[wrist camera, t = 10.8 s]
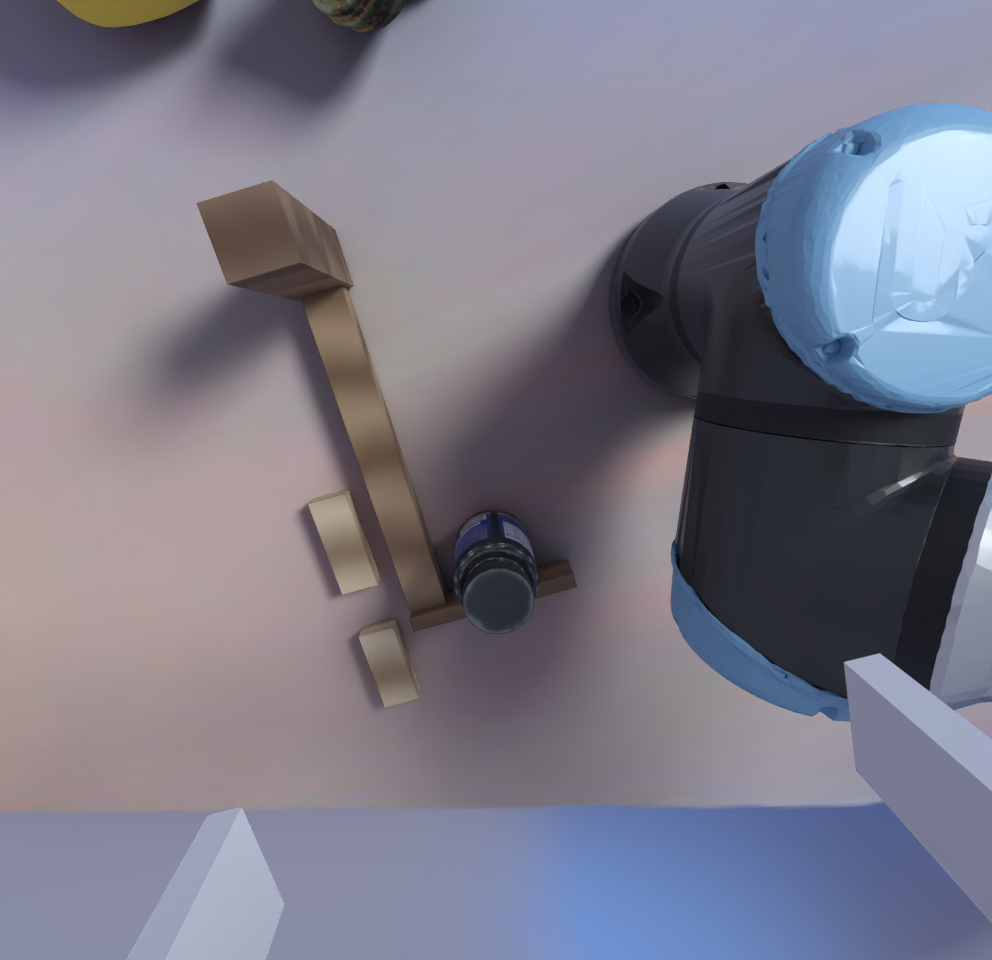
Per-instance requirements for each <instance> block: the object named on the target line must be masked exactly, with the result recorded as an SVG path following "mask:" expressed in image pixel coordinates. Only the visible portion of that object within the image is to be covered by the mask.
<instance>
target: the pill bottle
mask: <svg viewBox="0 0 992 960" xmlns="http://www.w3.org/2000/svg"><path fill="white" fill-rule="evenodd" d="M539 581H540V580H539V572H538V568H537V565H536V561H535V558H534V555H533V551H532V548H531V544H530V541H529V537H528V534H527V532H526V529H525V528H524V526H523V525H522V524H521V523H520V522H519V520H518V519H517V518H515V517H514V516H513V515H510V514H508V513H506V512H502V511H484V512H481V513H478V514H476V515H474V516H472V517H471V518H470V519H468V520H467V521H466V522H465V523H464V524H463V525H462V527H461V529H460V531H459V532H458V535H457V539H456V548H455V561H454V573H453V587H454V592H455V595H456V598H457V599H458V602H459V603H460V604H461V605H462V607H463V609H464V612H465V614H466V616H467V618H468V619H469V621H470V622H471V623H472V624H473V625H474V626H475V627H477V628H478V629H480V630H482V631H484V632H488V633H493V634H502V633H507V632H511V631H513V630H515V629H517V628H519V627H520V626H522V625H523V624H524V623H525V621H526V620H527V619H528V618H529V616H530V614H531V612H532V609H533V606H534V599H535V597H536V595H537V592H538V588H539Z"/></svg>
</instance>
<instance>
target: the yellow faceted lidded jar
mask: <svg viewBox="0 0 992 960" xmlns="http://www.w3.org/2000/svg"><path fill="white" fill-rule="evenodd" d="M57 1H58V2H59V3H60V4H61V5H63V6H64V7H65V8H66V9H67V10H69V11H70V12H71V13H72V14H74V15H75V16H77V17H79V18H81V19H83V20H84V21H87V22H89V23H92V24H95V25H98V26H101V27H113V28H115V27H124V26H132V25H137V24H141V23H145V22H149V21H153V20H156V19H159V18H162V17H165V16H168V15H171V14H173V13H175V12H177V11H180V10H182V9H184V8H186V7H187V6H189V5H191V4H193V3H195V2H197V1H198V0H57Z"/></svg>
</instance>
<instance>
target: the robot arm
mask: <svg viewBox="0 0 992 960" xmlns="http://www.w3.org/2000/svg"><path fill="white" fill-rule="evenodd" d="M609 307H610V318H611V324H612V328H613V332H614V335H615V338H616V341H617V343H618V345H619V348H620V350H621V351H622V353H623V355H624V357H625V358H626V360H627V361H628V362H629V364H630V365H631V366H632V367H633V369H634V370H635V371H636V372H637V373H638V374H639V375H640V376H641V377H643V378H644V379H645V380H646V381H648V382H649V383H651V384H652V385H654V386H656V387H657V388H659V389H661V390H663V391H666V392H668V393H671V394H675V395H678V396H682V397H686V398H691V399H697V400H696V408H695V414H694V419H693V426H692V432H691V439H690V446H689V453H688V459H687V466H686V473H685V479H684V486H683V493H682V499H681V506H680V513H679V519H678V526H677V533H676V538H675V540H674V542H673V543H672V547H671V562H672V565H673V576H672V587H671V610H672V615H673V618H674V620H675V622H676V623H677V625H678V626H679V629H680V632H681V633H682V636H683V638H684V639H685V641H686V642H687V644H688V645H689V646H690V647H691V648H692V650H693V651H694V652H695V653H696V654H697V655H698V656H699V657H700V658H701V659H702V660H703V661H704V662H705V663H706V664H708V665H709V666H710V667H711V668H712V669H714V670H715V671H716V672H717V673H719V674H720V675H722V676H723V677H724V678H726V679H727V680H729V681H730V682H732V683H733V684H735V685H737V686H738V687H740V688H742V689H743V690H745V691H747V692H749V693H751V694H753V695H755V696H756V697H758V698H761V699H763V700H765V701H767V702H769V703H772V704H774V705H776V706H779V707H782V708H784V709H787V710H790V711H793V712H796V713H800V714H804V715H807V716H814V715H816V714H817V713H818V712H819V711H820V712H822V713H823V714H825V715H826V716H827V717H829V718H830V719H832V720H834V721H850V722H851V730H852V739H853V748H854V757H855V766H856V771H857V772H858V773H859V774H860V775H861V776H862V777H863V778H864V780H865V781H866V782H867V783H868V784H869V785H870V786H871V788H872V789H873V790H874V791H875V792H876V793H877V794H878V795H879V797H880V798H881V799H882V800H883V801H884V802H885V803H886V804H887V805H888V807H889V808H890V809H891V810H892V811H893V812H894V813H895V815H896V816H897V817H898V818H899V819H900V820H901V821H902V822H903V824H904V825H905V826H906V827H907V828H908V829H909V830H910V832H911V833H912V834H913V835H914V836H915V837H916V838H917V839H918V841H919V842H920V843H921V844H922V845H923V846H924V847H925V848H926V849H927V851H928V852H929V853H930V854H931V855H932V856H933V857H934V858H935V860H936V861H937V862H938V863H939V864H940V865H941V866H942V868H943V869H944V870H945V871H946V872H947V873H948V874H949V875H950V876H951V878H952V879H953V880H954V881H955V882H956V883H957V885H958V886H959V887H960V888H961V889H962V890H963V891H964V892H965V893H966V894H967V896H968V897H969V898H970V899H971V900H972V901H973V903H974V904H975V905H976V906H977V907H978V908H979V909H980V910H981V912H982V913H983V914H984V915H985V916H986V917H987V918H988V919H989V921H990V922H991V923H992V739H990V738H989V737H988V736H986V735H985V734H984V733H982V732H981V731H980V730H979V729H977V728H976V727H975V726H973V725H972V724H971V723H970V722H968V721H967V720H966V719H964V718H963V717H962V716H960V715H959V714H958V713H957V712H955V711H954V710H957V709H960V708H963V707H967V706H970V705H974V704H977V703H983V702H992V462H989V461H982V460H975V459H968V458H961V457H957V456H955V455H954V454H953V453H954V446H955V443H956V439H957V435H958V431H959V427H960V423H961V419H962V415H963V412H964V408H965V405H966V404H968V403H970V402H974V401H977V400H980V399H981V398H984V397H986V396H988V395H991V394H992V113H990V112H988V111H985V110H981V109H978V108H975V107H970V106H966V105H959V104H950V103H927V104H918V105H911V106H906V107H902V108H898V109H894V110H891V111H888V112H885V113H882V114H879V115H877V116H875V117H872V118H870V119H868V120H865V121H863V122H861V123H858V124H856V125H854V126H852V127H848V128H843V129H839V130H837V132H836V133H834V134H827V135H825V136H823V137H821V138H819V139H817V140H815V141H813V142H812V143H811V144H809V145H807V146H806V147H804V148H803V149H802V150H801V151H800V152H799V153H798V154H796V155H794V156H793V158H792V159H790V160H788V161H787V162H785V163H783V164H782V165H780V166H778V167H776V168H775V169H773V170H771V171H770V172H768V173H766V174H765V175H763V176H761V177H760V178H758V179H756V180H755V181H753V182H751V183H750V184H746V183H737V182H721V183H713V184H708V185H704V186H700V187H697V188H694V189H691V190H688V191H686V192H684V193H682V194H680V195H678V196H676V197H674V198H673V199H671V200H670V201H668V202H667V203H665V204H664V205H662V206H661V207H660V208H658V209H657V210H656V211H654V212H653V213H652V214H651V215H649V216H648V217H647V218H646V219H645V220H644V221H643V222H642V223H641V224H640V225H639V226H638V228H637V229H636V230H635V231H634V232H633V234H632V235H631V237H630V238H629V240H628V241H627V243H626V244H625V246H624V248H623V250H622V252H621V254H620V256H619V258H618V261H617V263H616V266H615V269H614V273H613V277H612V281H611V287H610V299H609ZM283 908H284V902H283V900H282V898H281V896H280V893H279V891H278V889H277V886H276V884H275V882H274V880H273V877H272V875H271V873H270V871H269V868H268V866H267V864H266V861H265V859H264V857H263V855H262V852H261V850H260V848H259V845H258V843H257V841H256V838H255V836H254V834H253V832H252V829H251V827H250V825H249V822H248V820H247V818H246V816H245V814H244V811H243V809H242V807H240V808H236V809H232V810H227V811H223V812H219V813H215V814H211V815H208V816H207V817H206V819H205V821H204V823H203V824H202V826H201V828H200V830H199V832H198V833H197V835H196V837H195V839H194V840H193V842H192V844H191V846H190V847H189V849H188V851H187V853H186V854H185V856H184V858H183V860H182V861H181V864H180V865H179V867H178V869H177V871H176V872H175V874H174V876H173V877H172V879H171V881H170V883H169V885H168V886H167V888H166V890H165V891H164V893H163V895H162V897H161V899H160V900H159V903H158V904H157V906H156V908H155V909H154V911H153V913H152V914H151V916H150V918H149V920H148V922H147V923H146V925H145V927H144V929H143V930H142V932H141V934H140V936H139V937H138V939H137V941H136V943H135V944H134V946H133V948H132V950H131V952H130V954H129V955H128V957H127V959H126V960H266V958H267V955H268V952H269V949H270V946H271V943H272V940H273V937H274V934H275V931H276V929H277V926H278V923H279V920H280V916H281V913H282V911H283Z"/></svg>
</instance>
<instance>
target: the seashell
mask: <svg viewBox="0 0 992 960" xmlns="http://www.w3.org/2000/svg"><path fill="white" fill-rule="evenodd" d="M312 2H313V3H314V5H315V6H316V7H317V8H318V9H319V10H320V11H322V12H323V13H325V14H326V15H328V16H329V18H330V19H331V20H332V21H333V22H334V23H336V24H338V25H339V26H341V27H343V28H349V29H351V30H352V31H354V32H368V31H371V30H378V29H381V28H383V27H385V26H386V25H388V24H389V23H390V22H391V21H392V20H393V19H394V18H395V17H396V16H397V15H398V14H399V13H400V11H401V9H402V8H403V6H404V4H405V2H406V0H312Z"/></svg>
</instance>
